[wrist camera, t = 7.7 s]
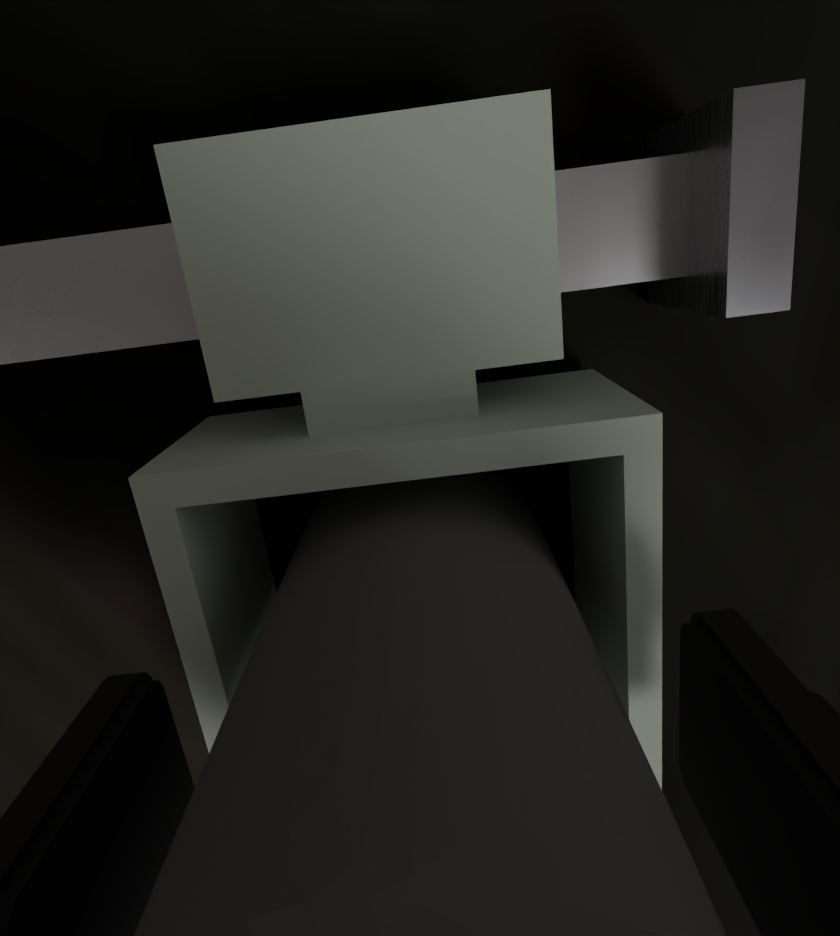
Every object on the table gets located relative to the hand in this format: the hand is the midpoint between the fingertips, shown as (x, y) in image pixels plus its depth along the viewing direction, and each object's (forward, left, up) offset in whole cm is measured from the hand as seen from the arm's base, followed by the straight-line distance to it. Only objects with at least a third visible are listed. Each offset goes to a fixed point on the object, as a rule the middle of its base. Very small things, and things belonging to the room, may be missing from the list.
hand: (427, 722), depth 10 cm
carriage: (0, +2, -5) cm, 6 cm away
